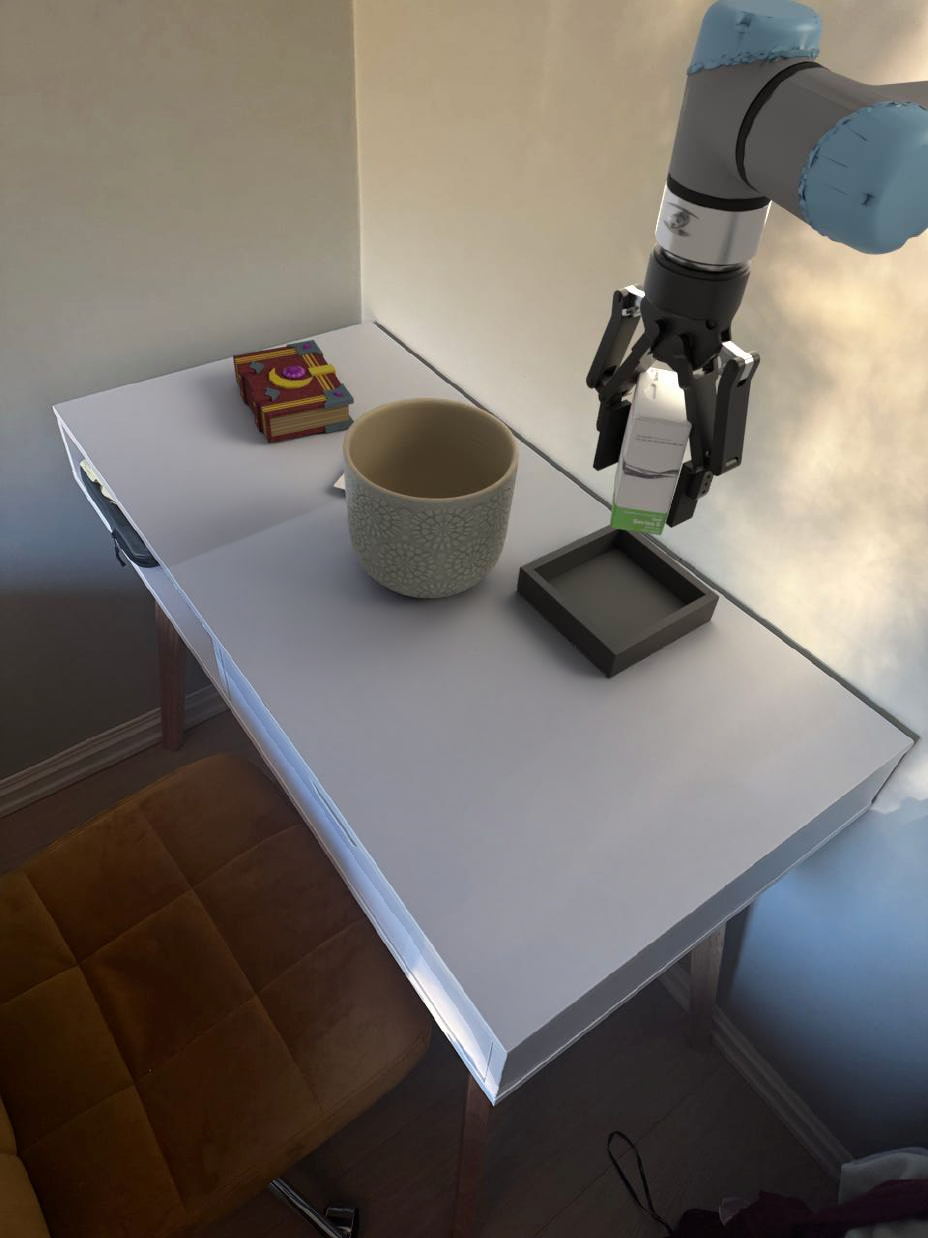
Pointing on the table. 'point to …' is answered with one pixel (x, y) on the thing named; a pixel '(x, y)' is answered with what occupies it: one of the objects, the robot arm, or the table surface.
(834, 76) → the robot arm
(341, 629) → the table surface
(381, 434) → the planter
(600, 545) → the dock
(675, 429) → the ink box
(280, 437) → the decorative book
